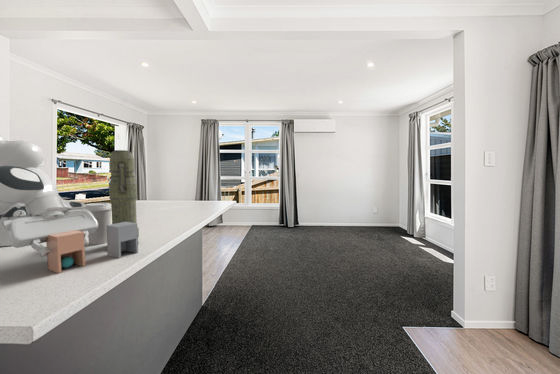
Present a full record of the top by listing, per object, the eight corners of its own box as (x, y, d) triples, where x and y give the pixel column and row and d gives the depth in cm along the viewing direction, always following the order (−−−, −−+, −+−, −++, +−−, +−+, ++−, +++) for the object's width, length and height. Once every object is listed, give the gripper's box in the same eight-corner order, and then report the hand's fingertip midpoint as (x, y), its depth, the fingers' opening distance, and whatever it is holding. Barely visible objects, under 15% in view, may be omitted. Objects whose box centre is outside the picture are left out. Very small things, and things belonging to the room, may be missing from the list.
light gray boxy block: (107, 255, 87) (106, 225, 86) (126, 249, 92) (125, 221, 91) (119, 258, 83) (117, 227, 83) (138, 252, 89) (137, 223, 88)
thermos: (136, 239, 106) (133, 152, 104) (141, 246, 96) (137, 150, 94) (110, 243, 101) (106, 151, 98) (112, 250, 91) (108, 149, 89)
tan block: (47, 269, 74) (45, 234, 74) (74, 262, 80) (72, 229, 79) (58, 273, 71) (56, 237, 71) (85, 265, 77) (83, 232, 76)
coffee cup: (99, 246, 96) (97, 205, 95) (77, 245, 98) (75, 205, 97) (119, 239, 105) (118, 202, 104) (99, 238, 107) (98, 202, 106)
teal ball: (57, 268, 75) (56, 257, 75) (70, 264, 78) (70, 254, 78) (63, 270, 73) (62, 259, 73) (76, 266, 76) (75, 255, 76)
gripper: (2, 210, 69) (21, 253, 65) (89, 202, 87) (108, 234, 83) (-3, 226, 71) (15, 267, 67) (83, 214, 89) (100, 246, 85)
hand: (67, 249), depth 75 cm, fingers open, 8 cm apart
